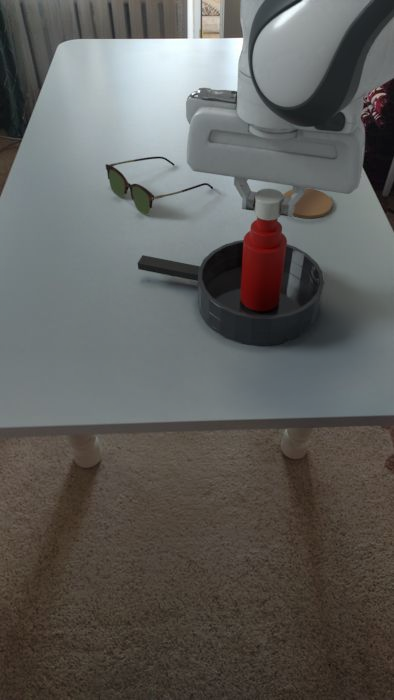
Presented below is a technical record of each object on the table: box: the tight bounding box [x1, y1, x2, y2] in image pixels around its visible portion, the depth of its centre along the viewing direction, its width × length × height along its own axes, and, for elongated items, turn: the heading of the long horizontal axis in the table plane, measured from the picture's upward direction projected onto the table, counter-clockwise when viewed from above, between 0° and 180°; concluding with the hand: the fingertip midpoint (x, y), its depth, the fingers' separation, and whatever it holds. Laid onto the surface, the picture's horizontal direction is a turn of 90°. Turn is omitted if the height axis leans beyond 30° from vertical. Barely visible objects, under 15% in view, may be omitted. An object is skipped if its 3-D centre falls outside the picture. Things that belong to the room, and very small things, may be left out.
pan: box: [197, 239, 325, 346], centre depth 77 cm, size 17×17×5 cm
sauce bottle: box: [240, 188, 288, 311], centre depth 72 cm, size 6×6×16 cm
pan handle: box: [137, 254, 201, 282], centre depth 80 cm, size 9×2×1 cm, turn 72°
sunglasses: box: [105, 156, 214, 216], centre depth 99 cm, size 14×15×5 cm
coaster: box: [282, 188, 333, 219], centre depth 97 cm, size 9×9×1 cm
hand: (268, 210), depth 68 cm, fingers closed on sauce bottle, 3 cm apart
